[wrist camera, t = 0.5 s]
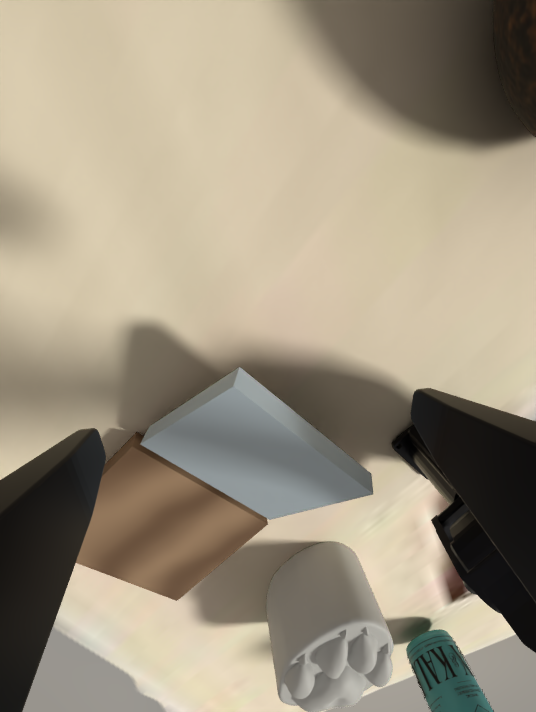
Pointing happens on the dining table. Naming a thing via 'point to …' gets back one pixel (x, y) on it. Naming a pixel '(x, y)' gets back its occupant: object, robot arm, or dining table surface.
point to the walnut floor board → (161, 523)
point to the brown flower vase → (517, 55)
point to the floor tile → (256, 450)
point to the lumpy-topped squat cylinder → (326, 629)
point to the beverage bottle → (445, 674)
